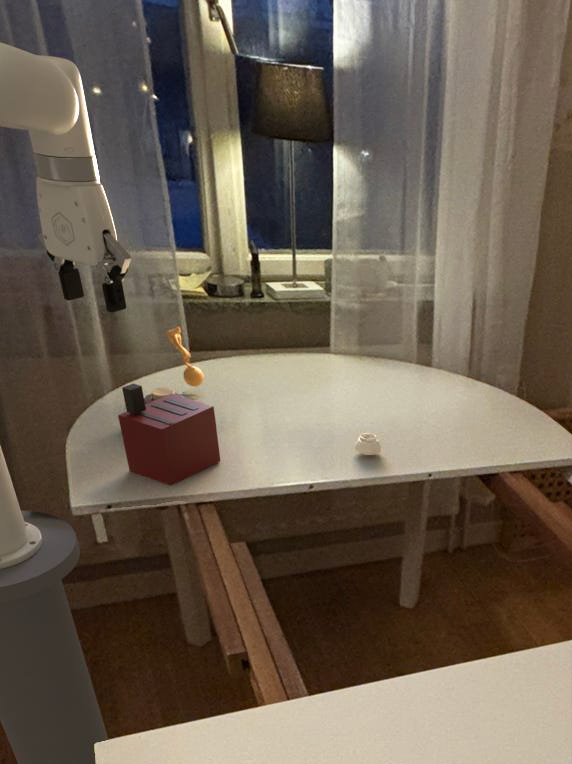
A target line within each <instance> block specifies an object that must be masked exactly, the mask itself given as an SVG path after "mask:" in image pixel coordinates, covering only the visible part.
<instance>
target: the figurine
mask: <svg viewBox="0 0 572 764" xmlns="http://www.w3.org/2000/svg"><path fill="white" fill-rule="evenodd" d="M181 333H182V330H181V327H180V326H175V327H174V328H172V329H169V330H168V331H166V337H167V338H168V340H169V341H170V343H171V344H173V345H174V347H175V349H177V350H178V351H179V352H180V354H181V355H183V356H182V359H183V363H184V365H185V366H186V368H185V369H184V371H183V374H182V377H183V380H184V382H185V383H186V384H187V385H189V386H190V387H194V388H195V387H199V386H201V385H202V384H203V383H204V380H205V379H204V378H205V375H204V373H203V371H202V370H201V369H200V367H197V366H194V365H193V364H190V363H189V360H190V359H191V357H192V355H191V353H190V352H189V351H188V349H186V348H185V347H184V346H183V345H182V336H181Z"/></svg>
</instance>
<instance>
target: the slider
mask: <svg viewBox="0 0 572 764" xmlns="http://www.w3.org/2000/svg"><path fill="white" fill-rule="evenodd" d="M121 389H122V395H123V399H124V405H125V409H126V412H129V413H132V414H138V413H140V412H142V411H145V410H146V407H145V401H144V398H145V396H144V390H143V385H140V384H136V383H131V384H128V385H126V386H123V387H121Z"/></svg>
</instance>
